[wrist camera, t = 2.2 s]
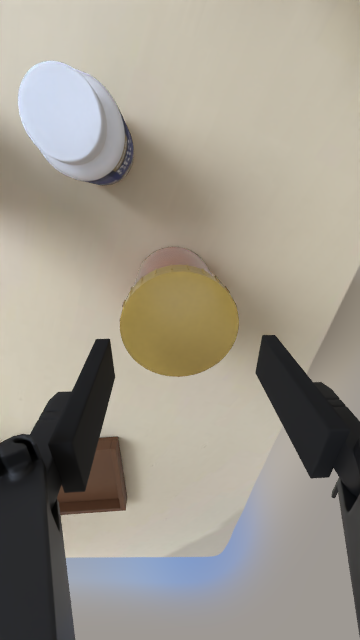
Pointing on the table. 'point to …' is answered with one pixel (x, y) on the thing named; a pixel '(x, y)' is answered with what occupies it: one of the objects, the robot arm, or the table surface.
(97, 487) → the tray
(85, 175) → the pill bottle
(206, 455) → the table surface
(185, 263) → the jar
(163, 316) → the lid
